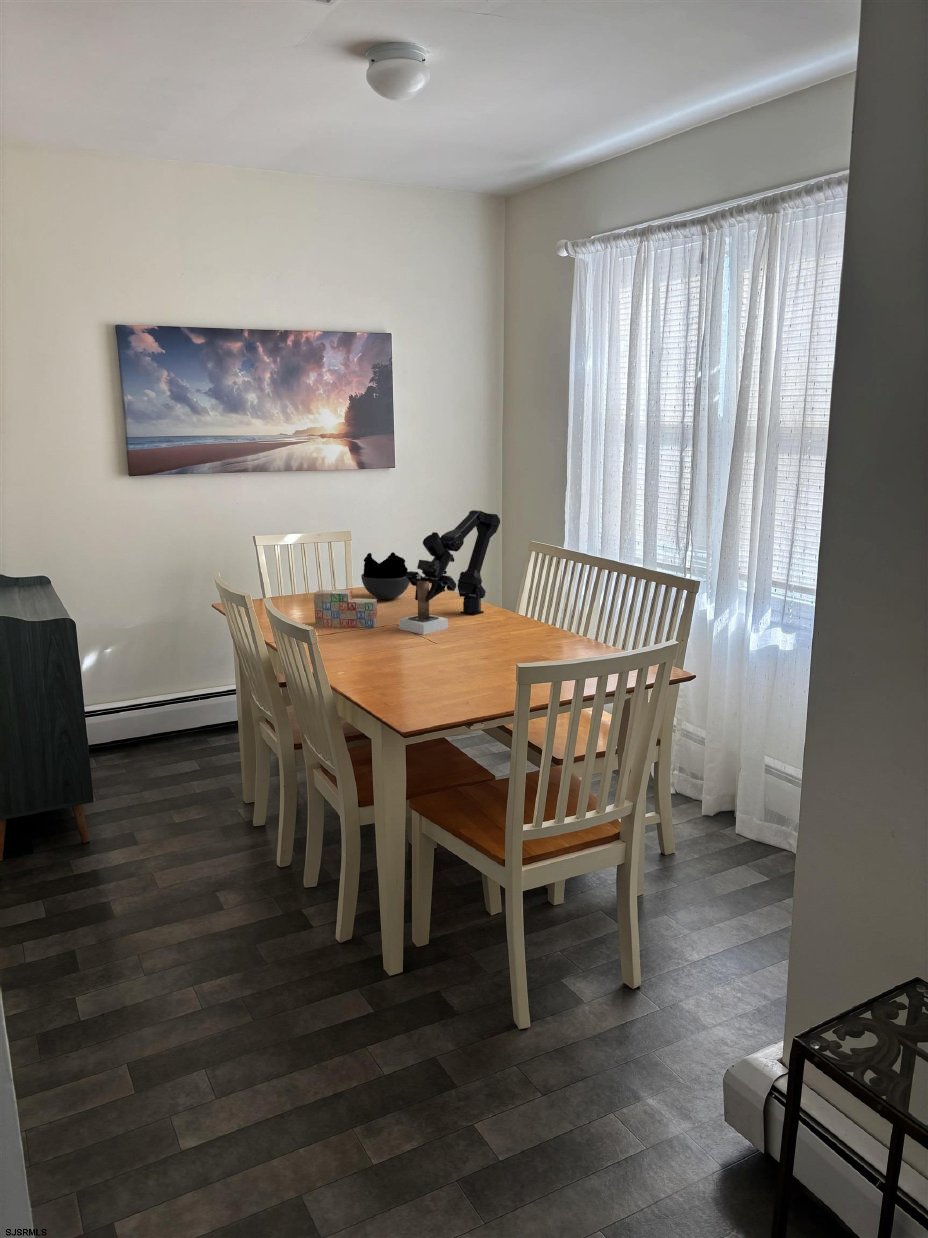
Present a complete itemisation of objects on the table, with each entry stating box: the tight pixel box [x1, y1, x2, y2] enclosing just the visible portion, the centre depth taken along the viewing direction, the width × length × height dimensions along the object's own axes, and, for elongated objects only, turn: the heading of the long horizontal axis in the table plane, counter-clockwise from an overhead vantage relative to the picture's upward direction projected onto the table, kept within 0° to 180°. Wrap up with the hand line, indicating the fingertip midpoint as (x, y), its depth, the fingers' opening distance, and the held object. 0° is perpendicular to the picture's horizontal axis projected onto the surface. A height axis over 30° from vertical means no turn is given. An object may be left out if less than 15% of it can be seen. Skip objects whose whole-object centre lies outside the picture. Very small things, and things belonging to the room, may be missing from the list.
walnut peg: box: [417, 581, 430, 620], centre depth 313 cm, size 4×4×13 cm
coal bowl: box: [360, 552, 411, 600], centre depth 363 cm, size 20×20×19 cm
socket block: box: [398, 614, 449, 635], centre depth 315 cm, size 12×12×4 cm
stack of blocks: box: [313, 589, 378, 629], centre depth 320 cm, size 21×6×12 cm, turn 83°
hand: (420, 600), depth 312 cm, fingers closed on walnut peg, 4 cm apart
